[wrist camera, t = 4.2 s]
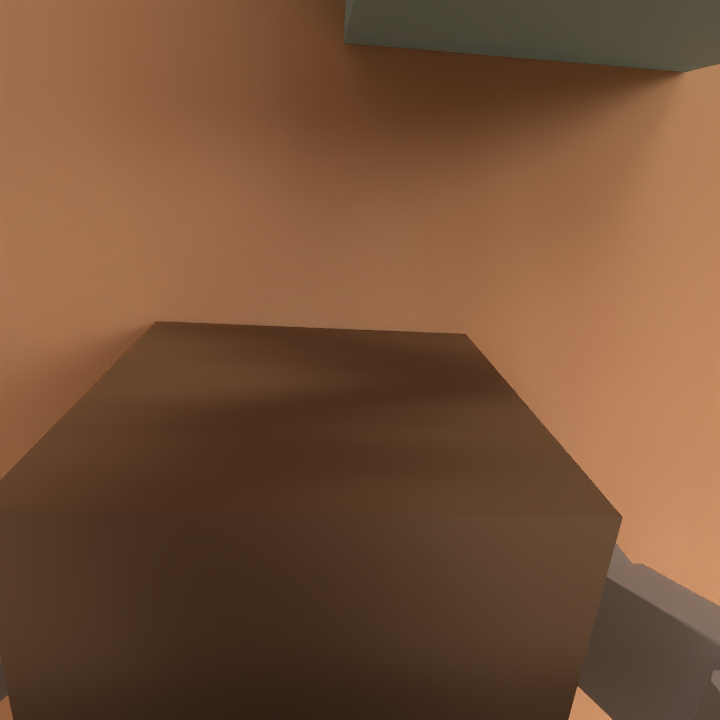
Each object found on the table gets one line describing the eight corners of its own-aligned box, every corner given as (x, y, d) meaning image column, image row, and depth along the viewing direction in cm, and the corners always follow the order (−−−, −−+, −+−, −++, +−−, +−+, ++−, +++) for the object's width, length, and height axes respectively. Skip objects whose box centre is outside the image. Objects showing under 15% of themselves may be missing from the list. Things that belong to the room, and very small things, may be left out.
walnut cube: (466, 334, 10) (622, 516, 5) (432, 576, 12) (521, 893, 7) (156, 321, 10) (-29, 509, 4) (171, 577, 11) (54, 919, 6)
